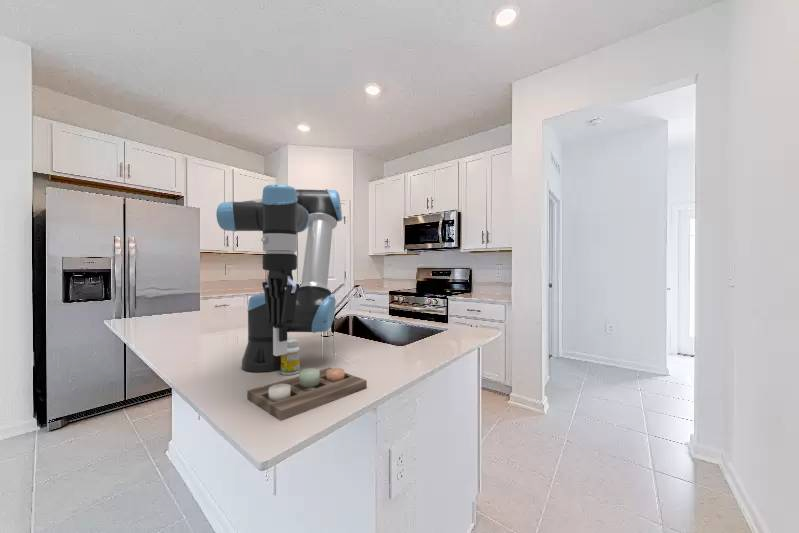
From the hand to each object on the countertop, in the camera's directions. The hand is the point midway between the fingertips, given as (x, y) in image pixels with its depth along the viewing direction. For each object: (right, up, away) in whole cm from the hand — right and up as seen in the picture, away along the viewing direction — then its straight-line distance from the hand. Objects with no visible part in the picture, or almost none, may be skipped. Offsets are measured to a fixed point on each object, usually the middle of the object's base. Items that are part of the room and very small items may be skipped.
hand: (280, 354), depth 76 cm
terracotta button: (+11, -11, +12) cm, 19 cm away
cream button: (0, -11, 0) cm, 11 cm away
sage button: (+5, -9, +6) cm, 12 cm away
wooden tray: (+5, -11, +6) cm, 14 cm away
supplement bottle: (-5, -12, +21) cm, 25 cm away
